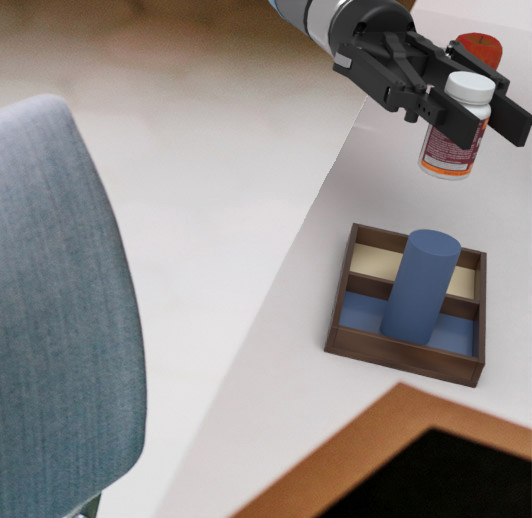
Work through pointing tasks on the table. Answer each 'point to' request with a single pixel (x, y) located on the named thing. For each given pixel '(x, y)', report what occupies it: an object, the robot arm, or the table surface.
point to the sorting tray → (375, 302)
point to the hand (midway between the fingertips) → (498, 133)
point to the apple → (483, 47)
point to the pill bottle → (444, 150)
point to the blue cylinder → (420, 285)
